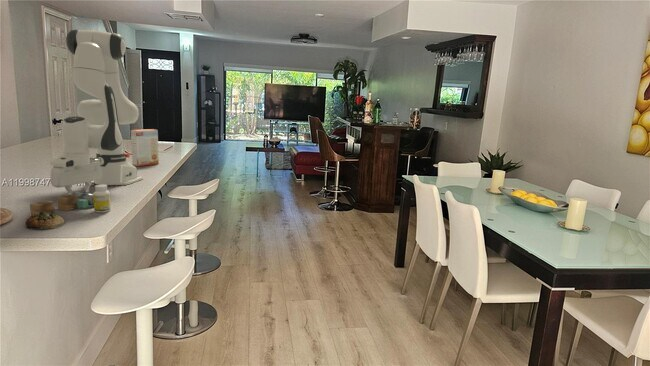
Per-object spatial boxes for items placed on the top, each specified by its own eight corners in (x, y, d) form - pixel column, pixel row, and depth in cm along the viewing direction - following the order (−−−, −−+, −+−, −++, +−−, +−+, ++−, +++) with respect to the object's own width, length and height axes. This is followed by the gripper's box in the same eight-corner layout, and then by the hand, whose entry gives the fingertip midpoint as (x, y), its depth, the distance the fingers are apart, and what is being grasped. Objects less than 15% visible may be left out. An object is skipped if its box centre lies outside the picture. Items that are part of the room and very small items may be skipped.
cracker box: (153, 162, 259) (152, 128, 255) (159, 164, 256) (158, 129, 251) (131, 165, 248) (130, 129, 243) (137, 166, 244) (136, 130, 240)
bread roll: (16, 226, 137) (18, 211, 136) (49, 222, 147) (50, 208, 147) (40, 233, 133) (41, 218, 133) (72, 228, 144) (73, 214, 143)
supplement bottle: (98, 208, 161) (97, 183, 159) (112, 209, 162) (111, 184, 160) (91, 212, 156) (90, 186, 154) (106, 213, 156) (105, 187, 154)
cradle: (84, 199, 171) (83, 192, 171) (103, 203, 168) (103, 196, 168) (63, 205, 162) (62, 197, 162) (83, 208, 159) (82, 201, 159)
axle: (76, 199, 169) (75, 190, 168) (99, 203, 165) (99, 194, 165) (67, 201, 165) (66, 192, 165) (91, 206, 162) (90, 196, 161)
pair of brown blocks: (70, 205, 162) (70, 194, 161) (78, 207, 161) (78, 195, 160) (30, 216, 147) (29, 203, 146) (39, 217, 146) (38, 205, 145)
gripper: (92, 155, 173) (94, 188, 176) (46, 162, 154) (49, 198, 157) (104, 157, 171) (106, 190, 174) (59, 164, 152) (61, 201, 155)
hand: (78, 194), depth 165 cm, fingers open, 5 cm apart
